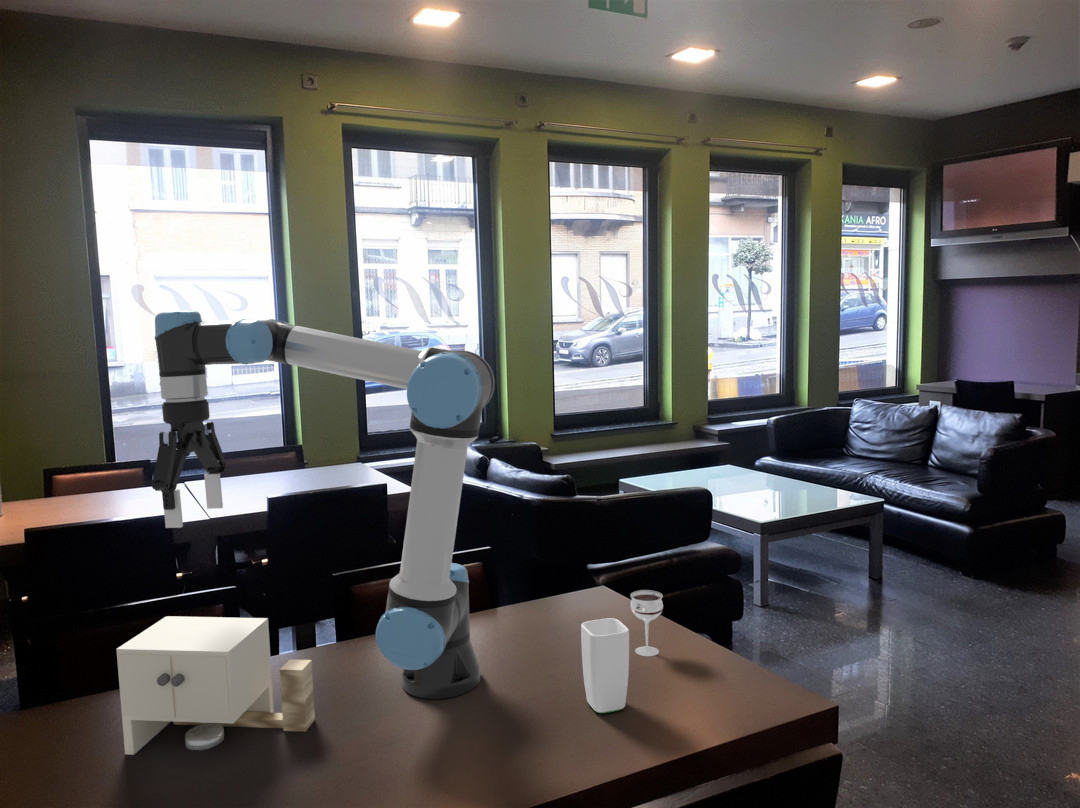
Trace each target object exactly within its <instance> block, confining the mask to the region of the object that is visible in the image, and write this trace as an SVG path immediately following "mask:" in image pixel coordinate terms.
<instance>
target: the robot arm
mask: <svg viewBox="0 0 1080 808" xmlns="http://www.w3.org/2000/svg"><path fill="white" fill-rule="evenodd" d="M154 331H155V332H154V334H155V335H154V341H155V346H156V347H155V348H156V354H157V360H158V361H157V362H158V370H159V371H158V372H159V373H158V374H159V386H160V395H161V396H160V397H161V399H162V400H165V401H164V402H162V403H161V410H162V412H161V413H162V420H163V423H164V424H169V425H170V431H160V432H159V434H158V439H159V441H158V442H159V444H158V445H159V446H158V450H157V451H158V452H157V457H156V461H155V462H156V463H155V467H154V473H153V479H152V483H151V487H152V489H153V490H155V492H161V495H162V508H163V515H164V524H165V526H164V527H165V529H170V528H171V529H173V528H175V529H176V528H177V529H180V528H181V529H182V528H183V527H184V523H183V521H184V520H183V512H182V500H181V489H180V488H177V486H178V483H179V480H180V477H181V474H182V471H183V468H184V465H185V463H186V462H185V461H186V458H187V457H189V456H190V454H191V453H194V455H195V456H196V457H197V459H198V460H199V462H200V464H201V465H202V466H203V468H204V470H205V471H206V473H204V475H203V476H204V486H205V487H204V488H205V498H206V509H208V510H210V509H223V508H224V505H223V494H222V492H223V491H222V482H221V473H225V472H226V471H227V469H226V468H227V467H226V466H227V461H226V459H225V456H224V453H223V451H222V450H223V449H222V448H221V444H220V442H219V439H218V437H217V434H216V430H215V424H214V421H208V420H210V418H211V417H210V416H211V415H210V403H209V400H208V399H206V398H205V397H207V396H208V395H209V392H208V383H207V372H206V366H208V365H209V366H210V365H211V366H212V365H236V364H237V365H239V364H240V365H241V364H242V365H251V364H256V363H257V364H258V363H264V362H266V361H269V362H273V363H279V364H285V365H289V366H290V365H291V366H296V367H301V368H305V369H309V370H314V371H317V372H318V371H319V372H322V373H323V372H324V373H328V374H333V375H338V376H341V377H347V378H351V379H357V380H362V381H366V382H370V383H371V382H372V383H376V384H378V385H379V384H380V385H385V386H390V387H394V388H399V389H404V390H406V399H407V403H408V406H409V408H410V410H411V415H410V422H409V431H411V433H412V434H413V435H414V437H415V438H416V447H415V453H414V454H415V455H414V461H413V469H412V470H413V471H412V477H411V485H410V494H409V498H408V499H409V500H408V509H407V513H406V523H405V530H404V537H403V538H404V539H403V548H402V552H401V553H402V554H401V562H400V567H399V569H400V570H399V573H398V574H396V575H395V576H394V577H392V578H391V579H390V580H389V584H388V585H389V586H388V592H387V593H388V594H387V599H386V607H385V612H384V613H383V614H382V615H381V616H380V618H379V620H378V623H377V626H376V629H375V641H376V645H377V648H378V650H379V652H380V653H381V655H383V656H384V658H385V659H386V660H387V661H388V662H389V663H391V664H392V665H393V666H395V667H397V668H400V669H401V686H402V689H403V691H405V692H406V693H408V694H409V695H410V696H414V697H417V698H421V699H430V700H437V699H447V698H453V697H457V696H458V697H459V696H460V695H463V694H466V693H468V692H470V691H471V690H473V689H475V687H477V686H478V685H479V684H480V682H481V667H480V663H479V660H478V658H477V655H476V653H475V650H474V647H473V645H472V642H471V630H470V629H471V628H470V624H471V623H470V622H471V621H470V598H469V597H470V595H469V590H470V589H469V584H470V580H469V575H468V570H467V568H466V567H465V566H464V565H462V564H459V563H455V562H453V553H454V548H455V540H456V534H457V527H458V518H459V513H460V506H461V505H460V504H461V497H462V491H463V484H464V483H463V482H464V476H465V467H466V461H467V455H468V453H467V452H468V447H469V446H470V444H472V443H473V442H475V440H476V439H478V438H479V433H480V426H481V419H482V412H483V409H484V408H485V407H486V406H487V405H488V403H490V401H491V399H492V397H493V394H494V391H495V383H496V381H495V375H494V372H493V369H492V368H491V366H490V364H489V363H488V362H487V360H486V359H485V358H483V357H482V356H480V355H479V354H478V353H476V352H472V351H468V350H453V349H452V350H450V349H444V348H442V349H441V348H437V347H433V346H431V347H428V348H427V349H426V350H418V349H413V348H411V347H410V348H408V347H404V346H399V345H395V344H390V343H385V342H380V341H375V340H369V339H364V338H360V337H355V336H349V335H345V334H341V333H340V334H339V333H335V332H331V331H330V332H329V331H326V330H320V329H315V328H309V327H305V326H301V325H294V324H292V323H291V324H290V323H288V322H287V321H284V320H280V319H274V318H273V319H265V320H261V319H260V320H259V319H251V318H248V319H237V320H236V319H235V320H219V321H217V320H216V321H203V319H202V315H201V313H200V312H199V311H197V310H196V311H195V310H193V311H192V310H181V311H161V312H159V313H157V314H156V315H155V318H154Z"/></svg>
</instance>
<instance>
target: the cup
mask: <svg viewBox="0 0 1080 808" xmlns="http://www.w3.org/2000/svg"><path fill="white" fill-rule="evenodd" d="M580 628H581V629H580V631H581V632H580V634H581V636H580V637H581V639H580V640H581V643H580V644H581V660H582V673H583V683H584V689H585V694H586V695H585V696H586V701H587V703H588V704H589V705H590V707H591V708H592V709H593V711H595V712H596V713H598V714H607V713H612V712H613V713H614V712H618V711H622V709H624V708H625V706H626V702H627V701H626V700H627V692H628V682H629V672H630V671H629V666H630V663H629V662H630V630H629V628H628V627H627V626H626V625H625V624H624V623H622V622H621V620H619V619H617V618H613V617H607V618H600V619H593V620H587V621H584V622H582V623H581V625H580Z"/></svg>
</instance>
